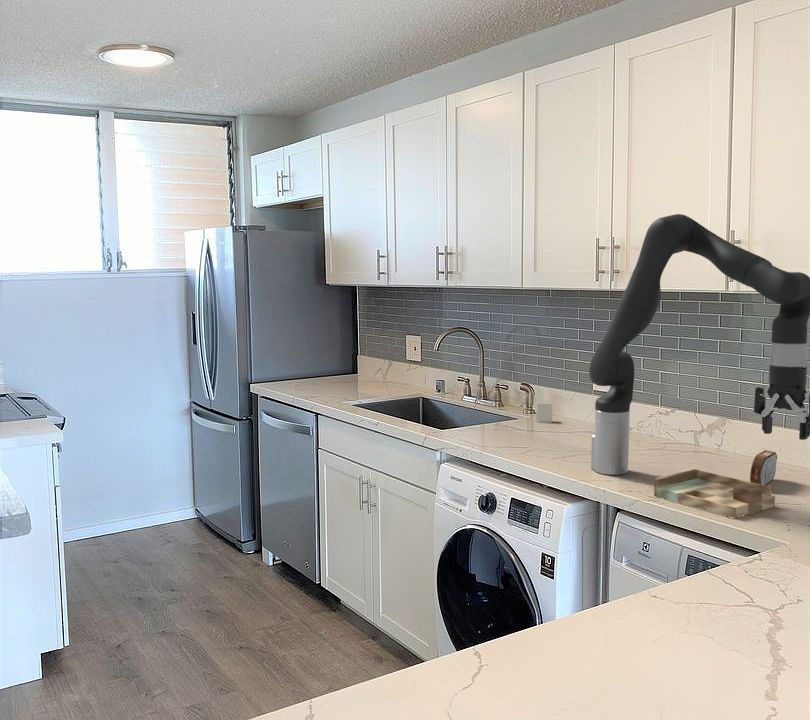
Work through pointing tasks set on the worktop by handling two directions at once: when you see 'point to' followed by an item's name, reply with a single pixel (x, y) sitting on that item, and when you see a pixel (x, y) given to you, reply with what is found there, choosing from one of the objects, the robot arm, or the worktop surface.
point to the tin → (763, 468)
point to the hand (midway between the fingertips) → (785, 436)
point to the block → (747, 493)
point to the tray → (710, 492)
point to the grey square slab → (544, 413)
